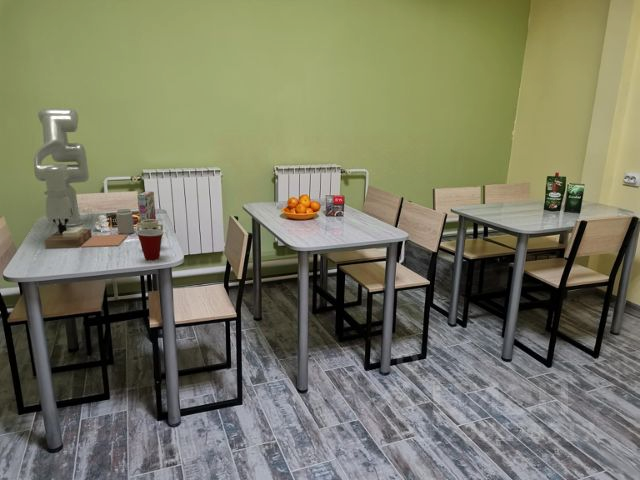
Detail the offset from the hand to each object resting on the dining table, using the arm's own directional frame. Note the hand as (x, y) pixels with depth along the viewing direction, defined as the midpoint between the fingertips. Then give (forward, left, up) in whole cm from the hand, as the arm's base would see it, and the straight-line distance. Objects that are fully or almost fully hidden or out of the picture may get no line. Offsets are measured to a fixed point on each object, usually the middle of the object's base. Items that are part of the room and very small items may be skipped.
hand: (62, 232), depth 222 cm
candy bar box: (-35, +31, -5) cm, 47 cm away
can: (-14, +24, -5) cm, 29 cm away
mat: (0, +18, -5) cm, 19 cm away
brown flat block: (0, +2, -5) cm, 5 cm away
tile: (0, +5, 0) cm, 5 cm away
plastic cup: (+29, +45, -5) cm, 54 cm away
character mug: (+15, +42, -5) cm, 45 cm away
